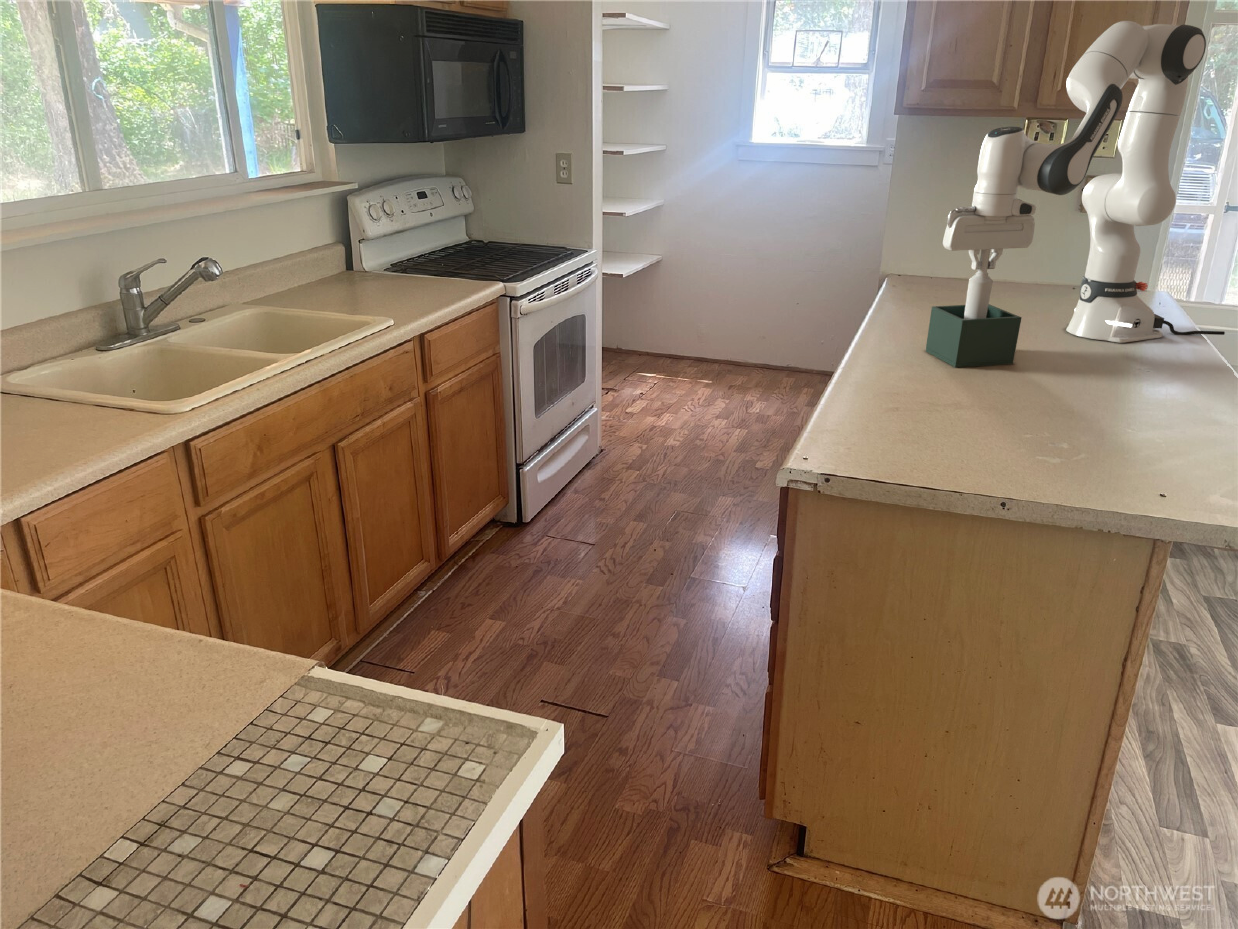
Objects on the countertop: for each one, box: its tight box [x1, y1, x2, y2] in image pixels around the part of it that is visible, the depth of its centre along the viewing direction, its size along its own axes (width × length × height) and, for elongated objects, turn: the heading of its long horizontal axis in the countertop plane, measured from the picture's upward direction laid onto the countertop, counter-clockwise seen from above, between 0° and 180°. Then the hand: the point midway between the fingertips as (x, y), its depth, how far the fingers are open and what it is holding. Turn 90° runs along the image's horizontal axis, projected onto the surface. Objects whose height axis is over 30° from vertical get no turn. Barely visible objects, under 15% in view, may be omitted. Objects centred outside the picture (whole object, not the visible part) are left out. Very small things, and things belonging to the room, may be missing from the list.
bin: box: [925, 303, 1022, 369], centre depth 203 cm, size 15×14×11 cm
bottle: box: [964, 249, 994, 319], centre depth 200 cm, size 5×5×25 cm
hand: (982, 268), depth 197 cm, fingers closed on bottle, 2 cm apart
